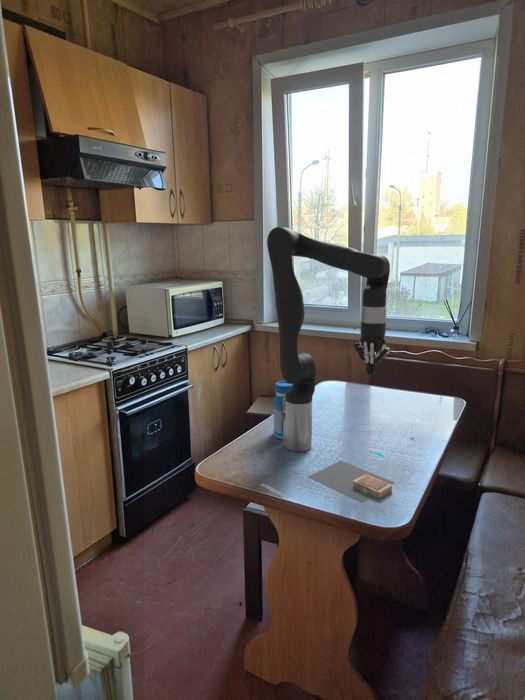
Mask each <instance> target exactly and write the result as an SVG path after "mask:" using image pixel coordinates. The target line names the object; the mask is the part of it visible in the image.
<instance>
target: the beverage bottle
mask: <svg viewBox="0 0 525 700" xmlns="http://www.w3.org/2000/svg"><path fill="white" fill-rule="evenodd" d="M292 385H293V384H289V383H287V382H286V381H285V380H283V381H282V380H279V381H277V382H275V385H274V389H275V390H274V391H275V393H276V394H275V396H274V398H273V399H272V401H273V406H272V411H273V435H274V437H276V438H279V439H283V420H284V419H285V394H286V392H287V390H288V389H289V388H290V387H291V386H292Z"/></svg>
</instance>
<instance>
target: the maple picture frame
mask: <svg viewBox="0 0 525 700" xmlns="http://www.w3.org/2000/svg"><path fill="white" fill-rule="evenodd" d="M353 487H354V488H356V489H358V490H361V491H363V492H365V493H367V494H369V495H372V496H373V497H374V498H377V499H379V500H380V499H383V498H384V497H385V496H387V495H388V494H391V492H392V491H393V484H392V485H391V484H389V483H386V482H384V481H381V480H379V479H377V478H374V477H372V476H369V475H367V474H365V475H363V476H361V477H359V478H357V479H356V480H354V481H353Z"/></svg>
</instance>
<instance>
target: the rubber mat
mask: <svg viewBox="0 0 525 700" xmlns="http://www.w3.org/2000/svg"><path fill="white" fill-rule="evenodd" d="M365 474H367V475H369V476H372V477H374V478H377V479H379V480H381V481H384V482H386V483H389V484H391V485H392V486H393V484H395V482H394V481H392V480H389V479H387V478H385V477H382V476H379V475H378V474H376V473H375V474H374V473H373V472H370V471H367V470H366V469H362V468H360V467H358V466H355V465H353V464H350V463H348V462H346V461H344V460H338V461H337V462H335V463H333V464H331V465H329V466H326V467H325V468H323V469H320V470H319V471H317V472H314V473H313V474H311V475H308V476H307V478H309V479H310V480H313V481H316V482H318V483H320V484H321V485H324V486H326V487H328V488H330V489H332V490H334V491H337V492H339V493H340V494H343V495H345V496H347V497H349V498H350V499H353V500H356V501H358V502H359V503H361V504H362V503H366V501H368V500H369V499H371V498H373V497H374V496H372V495H369V494H367V493H365V492H363V491H361V490H358V489H356V488H354V487H353V481H354V480H356V479H357V478H359V477H361V476H363V475H365Z"/></svg>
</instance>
